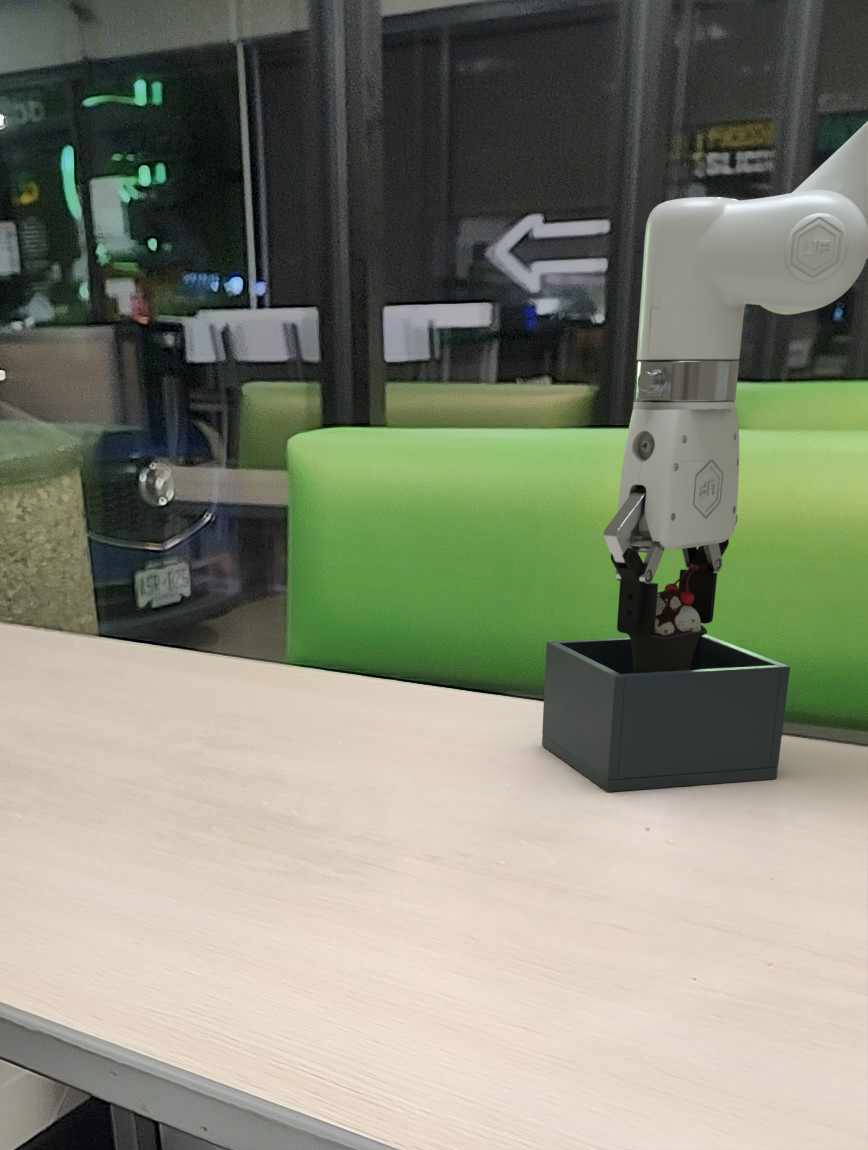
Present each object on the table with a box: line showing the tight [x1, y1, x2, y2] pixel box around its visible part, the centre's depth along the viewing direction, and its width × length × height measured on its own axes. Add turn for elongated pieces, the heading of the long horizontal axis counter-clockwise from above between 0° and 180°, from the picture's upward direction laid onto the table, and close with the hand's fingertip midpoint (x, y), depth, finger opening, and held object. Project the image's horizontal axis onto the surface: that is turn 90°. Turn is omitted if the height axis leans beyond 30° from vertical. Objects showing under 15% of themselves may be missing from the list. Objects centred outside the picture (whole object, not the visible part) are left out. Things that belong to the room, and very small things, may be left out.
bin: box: [541, 634, 791, 793], centre depth 109 cm, size 15×15×9 cm
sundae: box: [625, 564, 708, 673], centre depth 108 cm, size 7×7×15 cm
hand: (665, 626), depth 107 cm, fingers open, 7 cm apart
